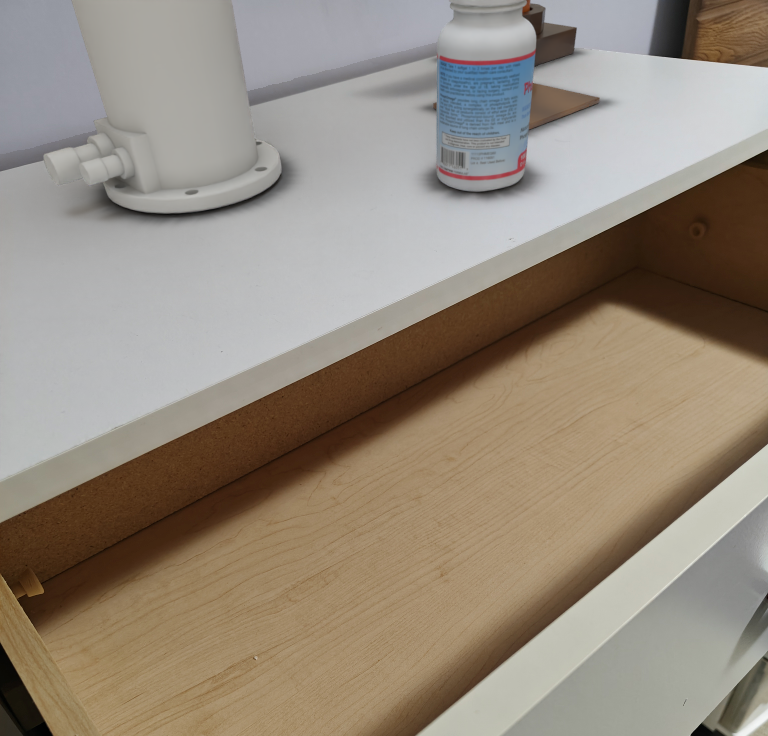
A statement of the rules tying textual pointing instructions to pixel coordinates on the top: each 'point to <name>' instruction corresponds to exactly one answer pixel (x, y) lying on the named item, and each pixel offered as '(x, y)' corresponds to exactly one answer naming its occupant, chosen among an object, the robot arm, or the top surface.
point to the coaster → (554, 104)
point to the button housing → (549, 36)
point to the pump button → (526, 7)
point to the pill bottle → (484, 94)
